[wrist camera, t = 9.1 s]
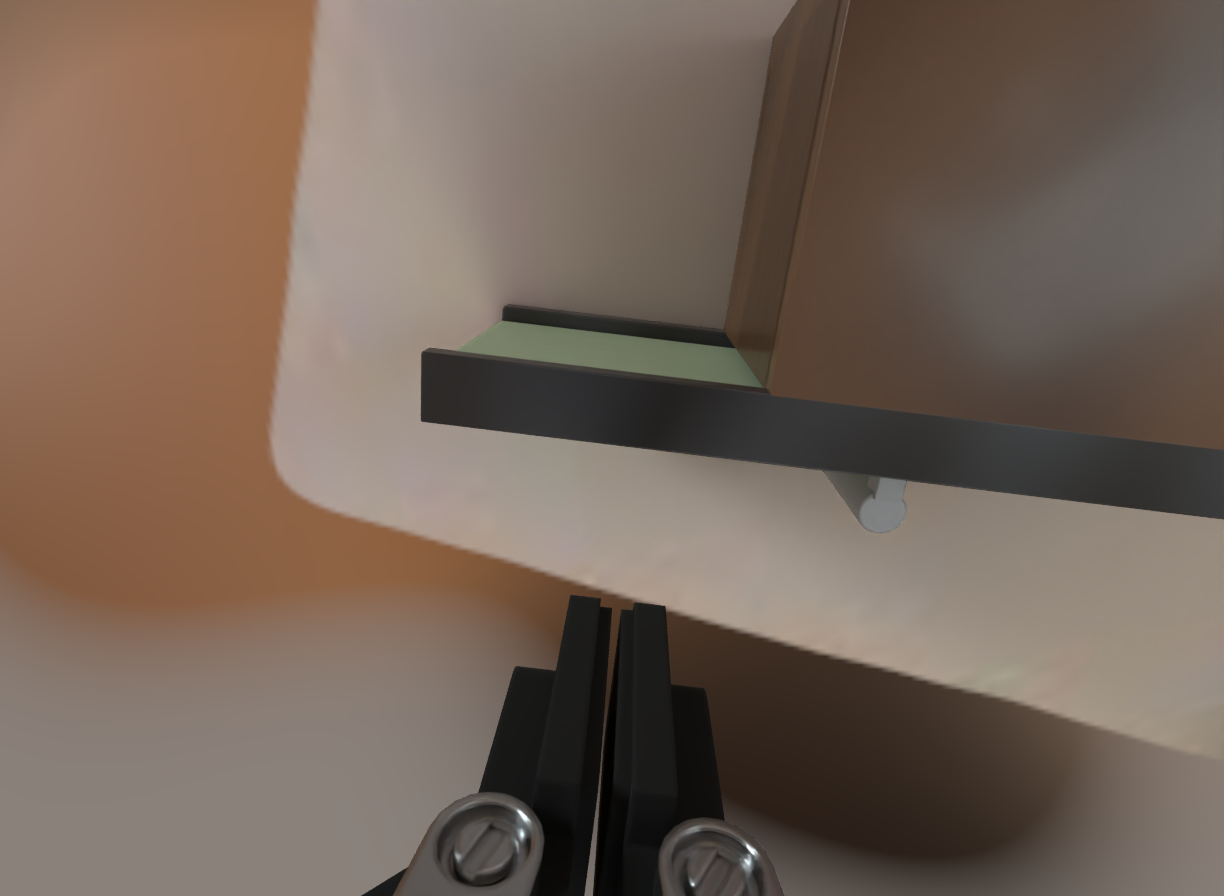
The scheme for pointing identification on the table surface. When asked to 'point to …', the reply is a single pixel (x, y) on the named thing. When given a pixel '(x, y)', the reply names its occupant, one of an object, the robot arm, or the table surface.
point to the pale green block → (864, 495)
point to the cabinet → (947, 264)
